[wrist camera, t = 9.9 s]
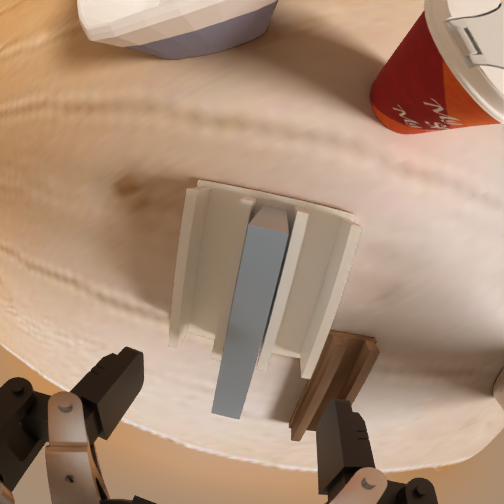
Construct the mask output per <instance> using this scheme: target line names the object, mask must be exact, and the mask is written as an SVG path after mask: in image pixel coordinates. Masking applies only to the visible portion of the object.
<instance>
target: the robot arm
mask: <svg viewBox="0 0 504 504" xmlns="http://www.w3.org/2000/svg"><path fill="white" fill-rule="evenodd" d="M143 382H144V357H143V353H142V352H140V351H137V350H135V349H132V348H129V347H125V348H124V349H123V350H122V351H121V352H120V353H119V354H118V355H116V354H114V353H112V354H110V355H107V356H105V357H103V358H102V359H101V360H100V361H99V362H98V363H97V364H96V366H94V367H93V368H92V369H91V371H89V372H88V373H87V374H86V375H85V376H84V378H83V379H82V380H81V381H80V382H79V383H78V384H77V385H76V386H75V387H74V388H73V389H72V390H71V391H70V392H66V391H63V392H58V393H55V394H53V395H52V396H50V395H46V394H43V393H39V392H36V391H34V390H33V387H32V385H31V383H30V382H29V381H28V380H26V379H24V378H20V377H17V378H12V379H10V380H8V381H7V382H6V383H5V384H4V385H3V386H2V387H1V388H0V504H15V502H14V497H13V494H12V491H13V490H14V488H15V486H16V485H17V483H18V482H19V480H20V479H21V477H22V476H23V474H24V473H25V471H26V470H27V469H28V467H29V466H30V464H31V463H32V461H33V460H34V458H35V457H36V456H37V454H38V453H39V451H40V450H41V448H42V447H43V446H44V444H45V443H46V442H49V446H46V447H45V457H46V467H47V476H48V483H49V489H50V495H51V501H52V504H156V503H153V502H151V501H148V500H145V499H143V498H140V497H138V496H134V498H133V500H125V499H110V497H109V494H108V491H107V488H106V486H105V483H104V480H103V477H102V473H101V469H100V465H99V461H98V456H97V452H96V447H95V443H94V442H95V440H96V439H97V437H98V436H99V437H101V438H103V439H105V440H107V439H108V438H109V436H110V435H111V433H112V432H113V430H114V429H115V427H116V426H117V424H118V423H119V421H120V420H121V418H122V417H123V415H124V414H125V412H126V411H127V409H128V408H129V406H130V405H131V404H132V402H133V401H134V399H135V398H136V396H137V395H138V393H139V392H140V390H141V388H142V386H143ZM493 396H494V397H495V399H496V400H497V401H498V403H499V404H500V406H501V407H502V408H503V410H504V369H503V370H502V371H501V373H500V375H499V376H498V378H497V380H496V382H495V384H494V387H493ZM368 439H369V437H368V433H367V429H366V425H365V421H364V420H363V418H362V417H361V416H360V414H359V413H357V412H352V407H351V403H350V401H349V400H342V399H331V400H330V401H329V403H328V405H327V407H326V409H325V411H324V413H323V415H322V416H321V418H320V420H319V422H318V425H317V429H316V441H317V461H318V487H319V488H318V489H319V494H323V495H328V501H327V502H326V503H325V504H438V502H437V497H436V493H435V489H434V486H433V485H432V483H431V482H430V481H428V480H427V479H424V478H414V479H412V480H411V481H409V482H408V483H407V484H404V483H398V482H393V481H389V480H387V479H386V476H385V475H384V474H383V473H382V472H381V471H380V470H378V469H376V468H375V464H374V459H373V455H372V450H371V446H370V442H369V440H368Z"/></svg>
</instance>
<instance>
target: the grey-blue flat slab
mask: <svg viewBox="0 0 504 504" xmlns="http://www.w3.org/2000/svg"><path fill="white" fill-rule="evenodd" d="M288 235H289V230H288V222H287V213H286V210H284V209H280V208H275V207H271V206H266V205H263V206H262V208H261V209H260V210H259V211H258V213H257V214H256V215H255V217H254V218H253V219H252V221H251V222H250V223H249V224H248V229H247V234H246V239H245V244H244V249H243V254H242V259H241V264H240V269H239V274H238V279H237V284H236V289H235V294H234V299H233V304H232V309H231V314H230V319H229V324H228V329H227V334H226V339H225V345H224V350H223V355H222V360H221V365H220V370H219V376H218V381H217V386H216V391H215V397H214V402H213V407H212V413H214V414H218V415H222V416H226V417H230V418H235V419H240V415H241V412H242V409H243V405H244V402H245V399H246V395H247V392H248V388H249V385H250V381H251V378H252V374H253V371H254V367H255V363H256V360H257V356H258V353H259V349H260V345H261V342H262V338H263V334H264V330H265V327H266V323H267V319H268V315H269V312H270V308H271V304H272V300H273V296H274V292H275V288H276V284H277V280H278V276H279V272H280V268H281V264H282V260H283V256H284V252H285V248H286V243H287V239H288Z"/></svg>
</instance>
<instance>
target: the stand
mask: <svg viewBox="0 0 504 504" xmlns="http://www.w3.org/2000/svg"><path fill="white" fill-rule="evenodd" d="M375 344H376V340H375V338H374V337H368V336H361V335H355V334H349V333H343V332H338V331H332V330H330V331H329V334H328V336H327V339H326V342H325V344H324V347H323V349H322V352H321V354H320V357H319V359H318V362H317V364H316V367H315V369H314V372H313V374H312V376H311V379H309V380H308V382H307V385H306V387H305V389H304V392H303V394H302V396H301V398H300V401H299V403H298V405H297V407H296V409H295V412H294V414H293V416H292V418H291V420H290V422H289V428H291V440H292V441H300V440H301V438H302V436H303V435H304V433H305V431H306V430H310V431H316V429H317V425H318V422H319V420H320V418H321V416H322V415H323V413H324V411H325V409H326V407H327V405H328V403H329V401H330V400H331V399H342V400H349V401H350V403H351V405H352V403H353V402H354V400H355V398H356V397H357V395H358V393H359V391H360V389H361V388H362V386H363V384H364V382H365V380H366V378H367V376H368V374H369V372H370V371H371V369H372V367H373V365H374V363H375V361H376V359H377V356H378V354H379V351H378V349H377V347H376V345H375Z"/></svg>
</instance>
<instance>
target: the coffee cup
mask: <svg viewBox="0 0 504 504" xmlns="http://www.w3.org/2000/svg"><path fill="white" fill-rule="evenodd" d="M370 101H371V105H372V108H373V111H374V113H375V114H376V116H377V117H378V119H379V120H380V121H381V122H382V123H383V124H384V125H385V126H386V127H387V128H389V129H390V130H392V131H394V132H397V133H400V134H418V133H425V132H432V131H439V130H446V129H454V128H462V127H470V126H479V125H489V124H500V123H502V124H504V3H503V2H501V1H500V0H425V4H424V12H423V13H422V14H421V16H420V17H419V18H418V20H417V21H416V23H415V24H414V25H413V27H412V28H411V30H410V31H409V32H408V34H407V35H406V37H405V38H404V39H403V41H402V42H401V43H400V45H399V46H398V48H397V49H396V50H395V52H394V53H393V55H392V56H391V57H390V59H389V60H388V62H387V63H386V64H385V66H384V67H383V69H382V70H381V72H380V73H379V75H378V76H377V78H376V79H375V81H374V83H373V85H372V87H371V91H370Z"/></svg>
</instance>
